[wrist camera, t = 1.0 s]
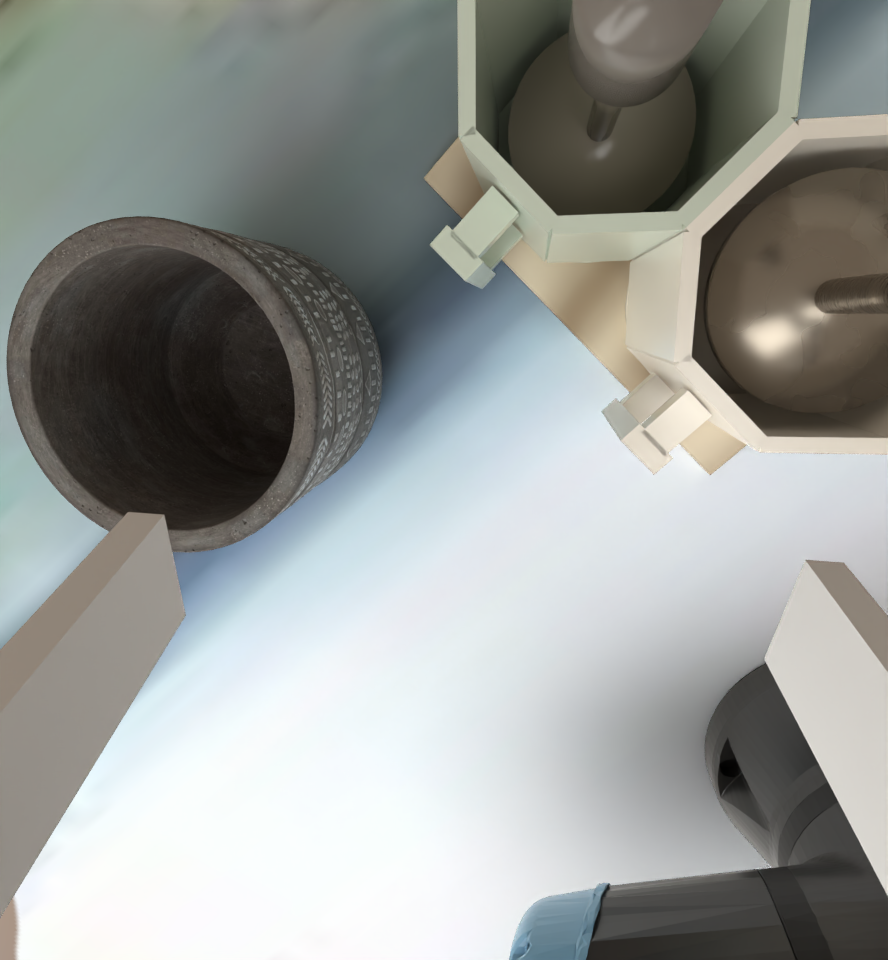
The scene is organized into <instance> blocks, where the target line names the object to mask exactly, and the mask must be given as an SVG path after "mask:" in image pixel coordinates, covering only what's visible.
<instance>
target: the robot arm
mask: <svg viewBox="0 0 888 960" xmlns="http://www.w3.org/2000/svg"><path fill="white" fill-rule="evenodd" d="M185 616H186V614H185V609H184V605H183V600H182V595H181V591H180V586H179V581H178V577H177V572H176V567H175V563H174V558H173V553H172V549H171V544H170V539H169V534H168V530H167V525H166V520H165V516H164V515H162V514H148V513H134V512H128V513H127V514H126V515H125V516H124V517H123V518H122V519H121V520H120V521H119V522H118V523H117V525H116V526H115V527H114V528H113V529H112V530H111V531H110V532H109V533H108V534H107V535H106V536H105V537H104V539H103V540H102V541H101V542H100V543H99V544H98V545H97V546H96V547H95V548H94V549H93V550H92V552H91V553H90V554H89V555H88V556H87V557H86V558H85V559H84V560H83V561H82V562H81V563H80V564H79V566H78V567H77V568H76V569H75V570H74V571H73V572H72V573H71V574H70V575H69V576H68V577H67V579H66V580H65V581H64V582H63V583H62V584H61V585H60V586H59V587H58V588H57V589H56V590H55V591H54V593H53V594H52V595H51V596H50V597H49V598H48V599H47V600H46V601H45V602H44V603H43V604H42V606H41V607H40V608H39V609H38V610H37V611H36V612H35V613H34V614H33V615H32V616H31V617H30V618H29V620H28V621H27V622H26V623H25V624H24V625H23V626H22V627H21V628H20V629H19V630H18V631H17V633H16V634H15V635H14V636H13V637H12V638H11V639H10V640H9V641H8V642H7V643H6V644H5V645H4V647H3V648H2V649H1V650H0V918H1V916H2V914H3V912H4V911H5V909H6V908H7V906H8V904H9V903H10V901H11V900H12V898H13V896H14V895H15V893H16V891H17V890H18V888H19V887H20V885H21V883H22V882H23V880H24V878H25V877H26V875H27V873H28V872H29V870H30V869H31V867H32V865H33V864H34V862H35V860H36V859H37V857H38V856H39V854H40V852H41V851H42V849H43V847H44V846H45V844H46V842H47V841H48V839H49V838H50V836H51V834H52V833H53V831H54V829H55V828H56V826H57V825H58V823H59V821H60V820H61V818H62V816H63V815H64V813H65V811H66V810H67V808H68V807H69V805H70V803H71V802H72V800H73V798H74V797H75V795H76V794H77V792H78V790H79V789H80V787H81V785H82V784H83V782H84V780H85V779H86V777H87V776H88V774H89V772H90V771H91V769H92V767H93V766H94V764H95V763H96V761H97V759H98V758H99V756H100V754H101V753H102V751H103V749H104V748H105V746H106V745H107V743H108V741H109V740H110V738H111V736H112V735H113V733H114V732H115V730H116V728H117V727H118V725H119V723H120V722H121V720H122V718H123V717H124V715H125V714H126V712H127V710H128V709H129V707H130V705H131V704H132V702H133V701H134V699H135V697H136V696H137V694H138V692H139V691H140V689H141V688H142V686H143V684H144V683H145V681H146V679H147V678H148V676H149V674H150V673H151V671H152V670H153V668H154V666H155V665H156V663H157V661H158V660H159V658H160V657H161V655H162V653H163V652H164V650H165V648H166V647H167V645H168V643H169V642H170V640H171V639H172V637H173V635H174V634H175V632H176V630H177V629H178V627H179V626H180V624H181V622H182V621H183V619H184V617H185ZM764 660H765V662H766V664H765V665H763V666H761V667H759V668H758V669H756V670H754V671H753V672H751V673H750V674H748V675H747V676H745V677H744V678H743V679H741V680H740V681H739V682H738V683H737V684H736V685H734V686H733V688H732V689H731V690H730V691H729V692H728V693H727V694H726V695H725V696H724V698H723V699H722V700H721V702H720V703H719V705H718V706H717V708H716V710H715V712H714V714H713V716H712V718H711V720H710V723H709V726H708V729H707V734H706V739H705V760H706V766H707V770H708V773H709V776H710V779H711V781H712V784H713V787H714V789H715V792H716V795H717V797H718V800H719V802H720V804H721V806H722V808H723V809H724V811H725V813H726V814H727V816H728V818H729V819H730V820H731V822H732V823H733V824H734V826H735V827H736V828H737V829H738V830H739V831H740V832H741V834H742V835H743V836H744V837H745V838H746V839H747V840H748V841H749V842H750V844H751V845H752V846H753V847H754V848H755V849H756V850H757V851H758V852H759V854H760V855H761V856H762V857H763V858H764V859H765V860H766V861H767V862H768V864H769V865H770V866H771V867H772V868H768V869H759V870H758V869H753V870H744V871H735V872H726V873H718V874H709V875H700V876H691V877H683V878H674V879H665V880H657V881H648V882H639V883H630V884H622V885H613V886H611V885H610V884H609V883H603V884H598V885H597V887H596V888H595V889H589V890H584V891H578V892H572V893H566V894H561V895H555V896H549V897H546V898H543V899H541V900H539V901H537V902H536V903H534V904H533V905H532V906H531V907H530V908H529V909H528V910H527V912H526V913H525V914H524V916H523V918H522V919H521V921H520V923H519V926H518V928H517V931H516V934H515V937H514V940H513V944H512V948H511V953H510V958H509V960H888V616H887V615H886V614H885V612H884V611H883V610H882V609H881V608H880V606H879V605H878V604H877V603H876V601H875V600H874V599H873V598H872V597H871V595H870V594H869V593H868V592H867V590H866V589H865V588H864V587H863V586H862V584H861V583H860V582H859V581H858V579H857V578H856V577H855V576H854V575H853V573H852V572H851V571H850V570H849V568H848V567H847V566H846V565H845V564H844V563H841V562H827V561H813V560H805V562H804V564H803V566H802V569H801V571H800V574H799V576H798V579H797V581H796V583H795V586H794V588H793V591H792V593H791V595H790V598H789V600H788V603H787V605H786V607H785V610H784V612H783V615H782V617H781V619H780V622H779V624H778V627H777V629H776V631H775V634H774V636H773V639H772V641H771V643H770V646H769V648H768V651H767V653H766V655H765V658H764Z"/></svg>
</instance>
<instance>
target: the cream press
mask: <svg viewBox="0 0 888 960" xmlns="http://www.w3.org/2000/svg"><path fill="white" fill-rule="evenodd" d="M843 168H871V169H877V170H883V171H887V172H888V114H882V115H864V116H846V117H828V118H811V119H799V120H798V121H796V122H794V123H793V124H792V125H791V126H790V127H789V128H787V129H786V130H785V131H784V132H783V133H782V134H781V135H780V136H779V137H778V138H777V139H776V140H775V141H774V142H773V143H772V144H771V145H770V146H769V147H768V148H767V149H766V150H765V151H764V152H763V153H762V154H761V155H760V156H759V157H758V158H757V159H756V160H755V161H754V162H753V163H752V164H751V165H750V166H749V167H748V168H747V169H746V170H745V171H744V172H743V173H742V174H740V175H739V176H738V177H737V178H736V179H735V180H734V181H733V182H732V183H731V184H730V185H729V186H728V187H727V188H726V189H725V190H724V191H723V192H722V193H721V194H720V195H719V196H718V197H717V198H716V199H715V200H714V201H713V202H712V203H711V204H710V205H709V206H708V207H707V208H706V209H705V210H704V211H703V212H702V213H701V214H700V215H699V216H698V217H697V218H696V219H695V220H693V221H692V222H691V223H690V224H689V225H688V226H687V227H686V228H685V229H683V230H681V231H680V232H678V233H676V234H674V235H673V236H671V237H669V238H668V239H666V240H664V241H662V242H661V243H659V244H657V245H655V246H654V247H652V248H650V249H649V250H647V251H645V252H643V253H642V254H640V255H638V256H636V257H635V258H633V259H631V260H632V261H631V262H630V270H629V284H628V288H627V294H626V302H625V319H626V339H625V345H627V347H626V348H627V349H628V350H629V351H630V352H631V353H632V354H633V355H634V356H635V357H636V358H637V359H638V360H639V361H640V362H641V363H642V365H643V366H644V367H645V368H646V370H647V371H648V372H649V373H650V375H649V376H648V377H647V378H646V379H645V380H643V381H642V382H641V383H640V384H639V385H638V386H637V387H636V388H635V389H634V390H633V391H631V392H630V393H629V394H628V395H627V396H626V397H625V398H624V399H623V400H622V401H620V402H619V401H618V400H617V399H616V398H615V399H614V400H613V401H612V402H611V403H610V404H609V405H608V406H607V407H606V408H605V409H603V410H602V413H603V414H604V416H605V417H606V419H607V421H608V422H609V424H610V425H611V427H612V428H613V430H614V431H615V433H616V434H617V436H618V437H619V439H620V440H621V441H622V442H623V443H624V444H625V446H626V447H627V448H628V449H629V450H630V451H631V452H632V453H633V454H634V455H635V456H636V457H637V458H638V459H639V460H640V461H641V462H642V463H643V464H644V465H645V466H646V467H647V468H648V469H649V470H650V471H651V472H652V473H653V474H656V473H657V472H658V471H659V470H660V469H661V468H663V467H664V466H665V465H666V464H667V463H668V462H670V461H671V460H672V459H673V458H672V456H671V455H670V454H669V452H670V451H671V450H673V449H674V448H675V447H676V446H677V445H678V444H680V443H681V442H682V441H683V440H684V439H685V438H687V437H688V436H689V435H690V434H691V433H692V432H693V431H695V430H696V429H697V428H698V427H699V426H700V425H702V424H703V423H704V422H705V421H706V420H708V421H709V422H711V423H712V424H714V425H716V426H717V427H719V428H720V429H722V430H724V431H725V432H727V433H728V434H730V435H732V436H733V437H735V438H736V439H738V440H740V441H741V442H743V443H744V444H746V445H748V446H749V447H751V448H752V449H754V450H756V451H758V452H760V453H817V454H882V455H888V394H887V395H885V396H883V397H882V398H880V399H877V400H875V401H873V402H870V403H868V404H865V405H863V406H859V407H856V408H852V409H849V410H843V411H838V412H831V413H805V412H797V411H792V410H787V409H784V408H781V407H778V406H775V405H772V404H769V403H766V402H764V401H762V400H760V399H758V398H756V397H754V396H752V395H750V394H749V393H747V392H746V391H744V390H743V389H741V388H740V387H739V386H738V385H737V384H736V383H735V382H733V381H732V380H731V379H730V378H729V377H728V375H727V374H726V373H725V372H724V370H723V369H722V368H721V367H720V365H719V363H718V362H717V360H716V358H715V356H714V355H713V352H712V350H711V347H710V345H709V343H708V339H707V335H706V331H705V325H704V316H703V304H704V293H705V287H706V282H707V279H708V275H709V272H710V268H711V266H712V264H713V261H714V259H715V257H716V254H717V252H718V251H719V249H720V247H721V245H722V244H723V242H724V240H725V239H726V237H727V236H728V235H729V233H730V232H731V231H732V229H733V228H734V227H735V225H736V224H737V223H738V222H739V221H740V220H741V219H742V218H743V217H744V216H745V215H746V214H747V213H748V212H749V211H750V210H751V209H753V208H754V207H755V206H756V205H757V204H758V203H760V202H761V201H763V200H764V199H766V198H767V197H769V196H770V195H772V194H773V193H775V192H777V191H779V190H780V189H782V188H784V187H786V186H788V185H790V184H792V183H794V182H796V181H798V180H800V179H803V178H806V177H808V176H811V175H814V174H817V173H821V172H825V171H830V170H834V169H843ZM672 396H673V397H672ZM667 400H668V401H667ZM666 401H667V402H666ZM665 402H666V403H665ZM664 403H665V404H664ZM663 404H664V405H663ZM658 408H659V409H658ZM657 409H658V410H657ZM656 410H657V411H656ZM655 411H656V412H655ZM654 412H655V413H654ZM649 416H650V417H649ZM648 417H649V418H648ZM647 418H648V419H647ZM646 419H647V420H646ZM645 420H646V421H645Z"/></svg>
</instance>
